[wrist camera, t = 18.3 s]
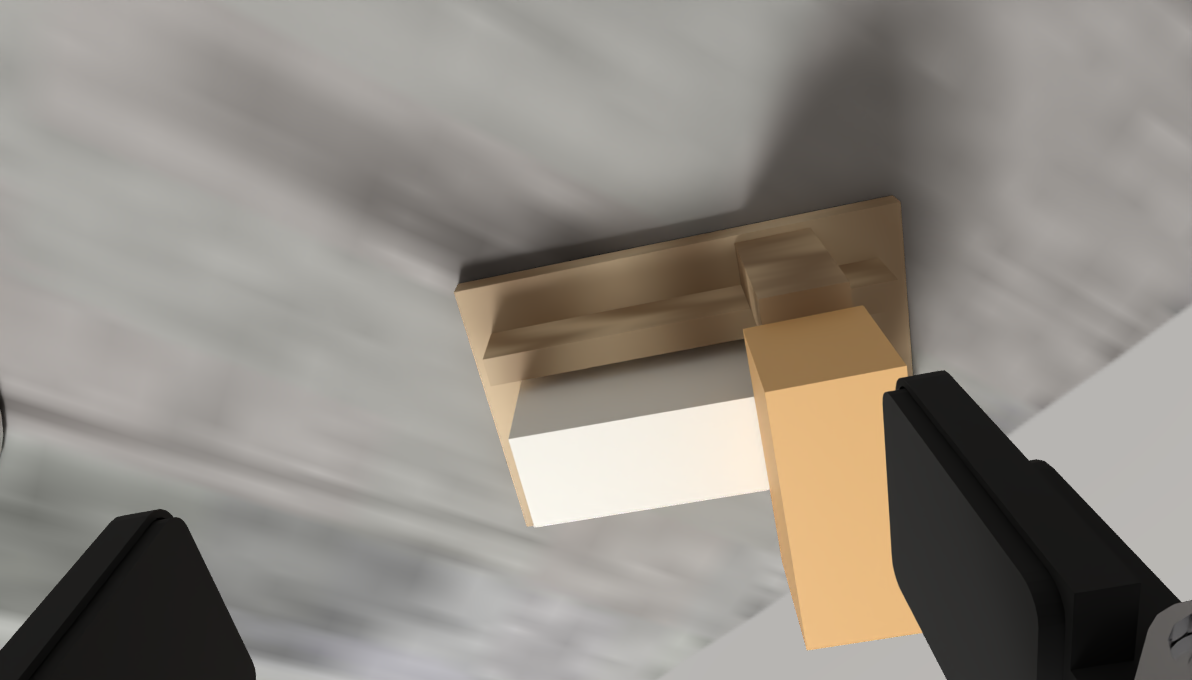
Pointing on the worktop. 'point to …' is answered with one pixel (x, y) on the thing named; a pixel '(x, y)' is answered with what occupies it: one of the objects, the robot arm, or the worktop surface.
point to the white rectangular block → (638, 435)
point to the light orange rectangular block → (830, 470)
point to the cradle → (683, 298)
